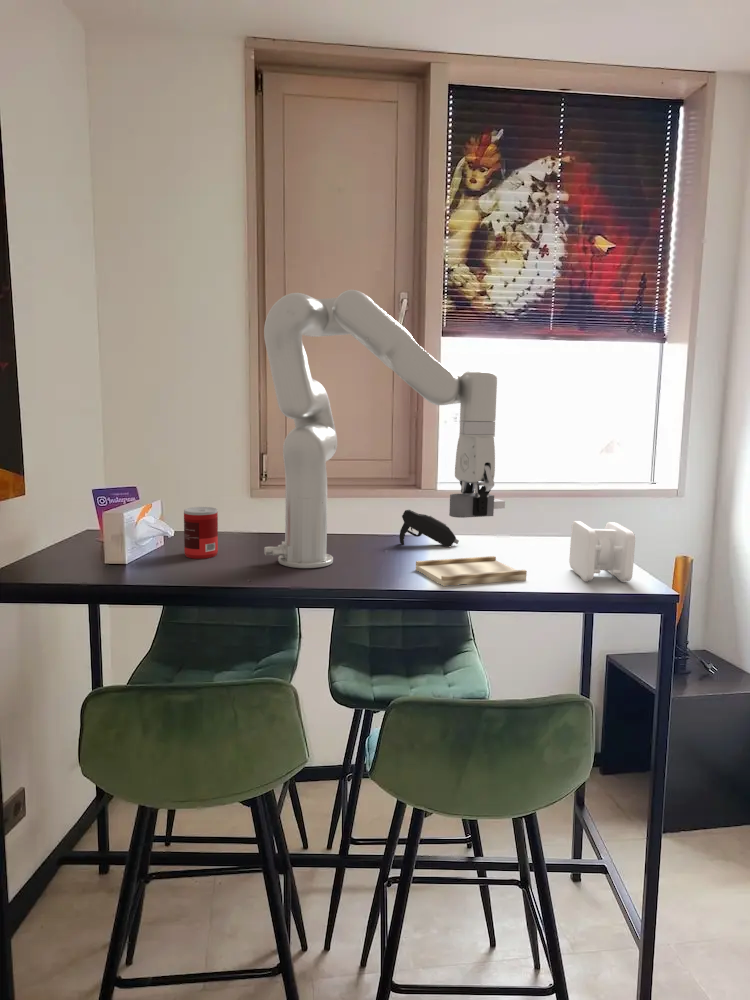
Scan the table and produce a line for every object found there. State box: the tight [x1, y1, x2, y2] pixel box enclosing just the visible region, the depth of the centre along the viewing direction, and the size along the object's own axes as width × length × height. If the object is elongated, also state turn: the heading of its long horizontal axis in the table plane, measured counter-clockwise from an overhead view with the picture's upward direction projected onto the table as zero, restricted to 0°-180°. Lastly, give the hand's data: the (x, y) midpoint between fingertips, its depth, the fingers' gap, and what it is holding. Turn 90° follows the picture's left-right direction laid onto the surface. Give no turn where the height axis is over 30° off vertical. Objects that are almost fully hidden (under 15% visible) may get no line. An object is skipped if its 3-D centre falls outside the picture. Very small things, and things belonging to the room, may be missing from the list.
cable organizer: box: [568, 520, 636, 583], centre depth 158 cm, size 15×11×12 cm
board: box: [415, 555, 528, 587], centre depth 157 cm, size 20×14×2 cm
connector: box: [448, 492, 506, 519], centre depth 155 cm, size 12×4×4 cm, turn 111°
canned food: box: [183, 506, 219, 560], centre depth 167 cm, size 8×8×11 cm
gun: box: [399, 509, 460, 548], centre depth 185 cm, size 3×16×10 cm, turn 89°
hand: (473, 512), depth 155 cm, fingers closed on connector, 4 cm apart
